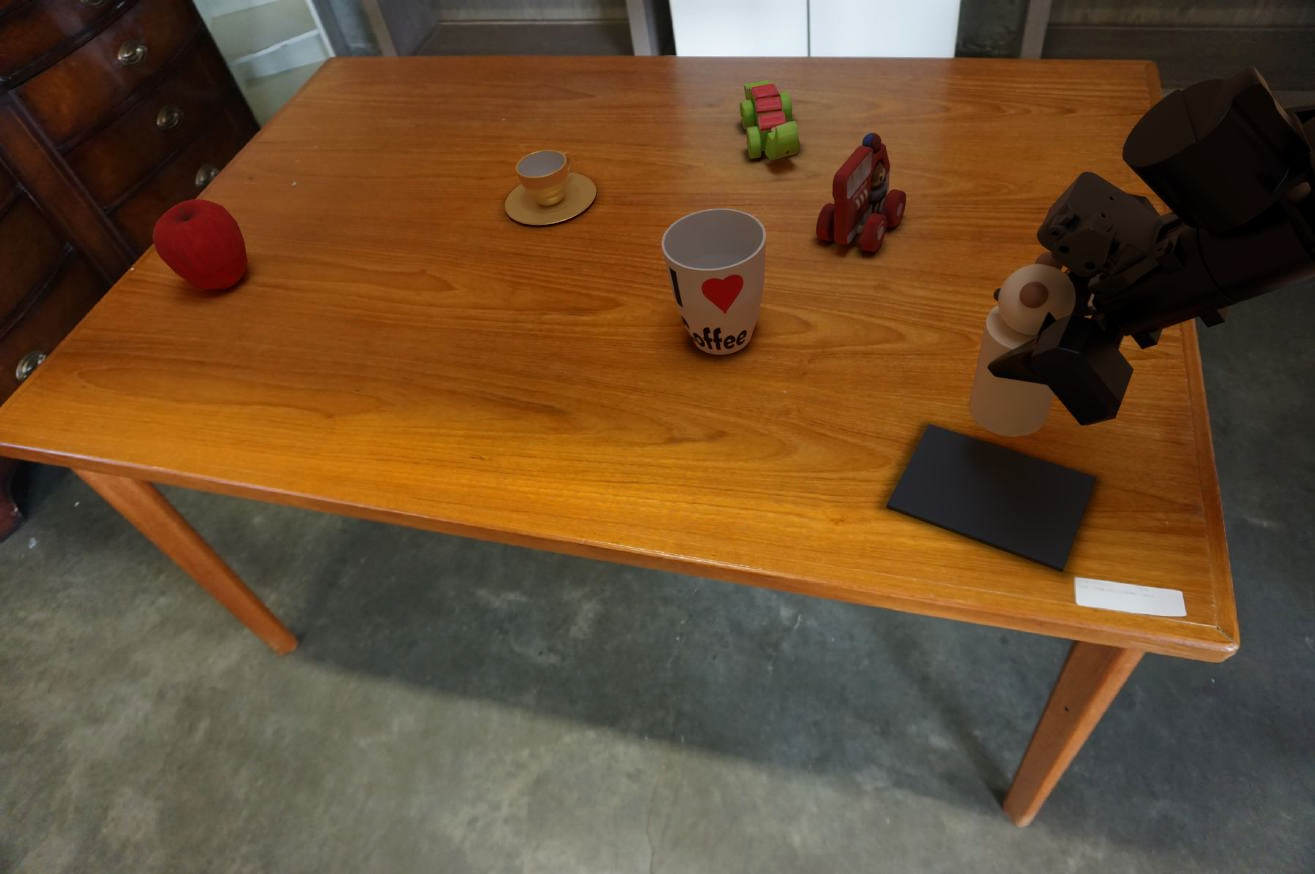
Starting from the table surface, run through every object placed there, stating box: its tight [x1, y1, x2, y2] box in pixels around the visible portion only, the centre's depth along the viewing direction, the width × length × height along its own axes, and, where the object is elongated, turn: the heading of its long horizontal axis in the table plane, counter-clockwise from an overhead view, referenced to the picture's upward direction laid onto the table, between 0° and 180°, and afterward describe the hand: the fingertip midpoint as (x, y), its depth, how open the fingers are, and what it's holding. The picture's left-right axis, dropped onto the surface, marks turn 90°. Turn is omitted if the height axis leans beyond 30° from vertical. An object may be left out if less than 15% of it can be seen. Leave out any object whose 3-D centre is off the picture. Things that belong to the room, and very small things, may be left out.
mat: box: [886, 423, 1097, 573], centre depth 69 cm, size 14×10×1 cm
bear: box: [968, 251, 1076, 438], centre depth 62 cm, size 6×6×14 cm
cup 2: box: [661, 208, 767, 356], centre depth 82 cm, size 10×10×12 cm
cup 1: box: [504, 149, 597, 226], centre depth 106 cm, size 12×12×5 cm
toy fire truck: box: [815, 132, 907, 253], centre depth 91 cm, size 7×12×10 cm, turn 146°
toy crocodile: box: [739, 79, 801, 161], centre depth 109 cm, size 20×7×6 cm, turn 3°
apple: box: [151, 198, 248, 290], centre depth 102 cm, size 10×10×11 cm
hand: (1004, 343), depth 63 cm, fingers closed on bear, 6 cm apart
